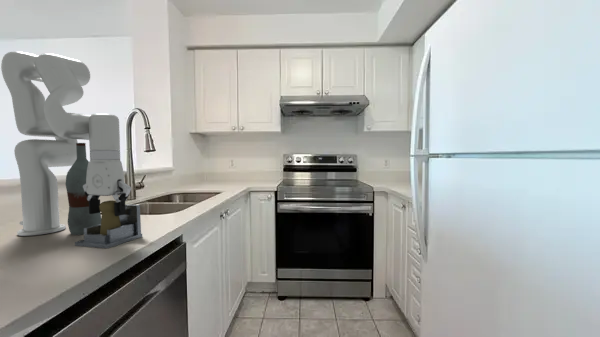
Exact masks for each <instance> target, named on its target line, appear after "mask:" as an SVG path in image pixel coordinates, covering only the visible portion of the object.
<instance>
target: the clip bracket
mask: <svg viewBox="0 0 600 337" xmlns="http://www.w3.org/2000/svg"><path fill="white" fill-rule="evenodd" d="M125 211H126V213H125V214H124V215H120V216H119V218H120V223H121V226H120V227H116V228H112V229H108V230H107V235H101V234H100V228H101V224H100V225H95V226H91V227H87V228H84V234H83V239H80V240H78V241H74V246H77V247H87V248H97V249H98V248H100V249H110V248H112V247H116V246H118V245H121V244H125V243H128V242H130V241H133V240H137V239H140V238H142V237H143V233H142V223H141V222H142V220H141V204H125Z"/></svg>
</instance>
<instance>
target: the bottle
mask: <svg viewBox="0 0 600 337" xmlns="http://www.w3.org/2000/svg"><path fill="white" fill-rule="evenodd" d="M86 145H87V143H86V142H78V143H76V152H77V159H76V161H75V162H74V164H73V165H72V166H70V168H69V169H68V170H67V172H66V176H65V190H66V194H67V195H66V196H67V200H68V214H67V226H68V231H69V233H70V235H72V236H80V235H83V236H84V228H87V227H91V226H95V225H100V224H101V218H102V212H100V213H95V214H89V201H88V200H87V196H86V195H85V191H84V189H83V185H85V184H86V175H87V167H88V162H89V161H90V160H88V159H87V149H86V148H87V146H86ZM98 199H100V197H99V198H98Z"/></svg>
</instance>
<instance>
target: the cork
mask: <svg viewBox="0 0 600 337" xmlns="http://www.w3.org/2000/svg"><path fill="white" fill-rule="evenodd" d="M114 202H116V201H115V200H105V201H102V202H100V206H99V208H100V211H101V212H100V213H101V228H100V234H101V235H107V230H108V229H112V228H116V227H120V226H121V223H120V218H119V216H115V212H114Z"/></svg>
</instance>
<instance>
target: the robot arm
mask: <svg viewBox="0 0 600 337" xmlns="http://www.w3.org/2000/svg"><path fill="white" fill-rule="evenodd" d="M0 66H1V68H0V69H1V74H2V77H3V81H4V83H5V85H6V86H7V89H8V91H9V93H10V96H11V100H12V107H13V112H14V113H13V114H14V120H15V125H16V128H17V130H18V132H19V133H20V134H22V135H24V136H29V137H44V138H54V139H38V138H35V139H34V138H33V139H31V138H30V139H24V140H21V141H20V142H18V143H17V144H16V145H15V147H14V153H13V154H14V158H15V160H16V163H17V168H18V172H19V173H18V174H19V181H20V193H21V211H22V220H21V221H20V222H19V225H20V226H22V228H21V229H19V230H17V231H16V232H17V236H20V237H28V236H29V237H31V236H39V235H46V234H47V235H48V234H51V233H52V234H53V233H56V232H60V231H63V230H65V229H66V224H62V223H61V222H60V221H61V220H60V203H59V188H58V179H57V177H56V175H55V174H54V173H53V172H52V171H51V169H50V168H56V167H57V168H58V167H72V165H73V164H74V162H75V161H76V159H77V152H76V143H79V142H78V140H84V141H85V140H86V141H89V142H88V143H89V160H88V161H89V162H88V167H87V175H86V184H85V185H83V189H84V191H85V195H86V196H87V200H88V201H89V214H95V213H102V212H101V211H100V208H99V206H100V204H101V199H100V197H101V196H102V197H110V196H112V197H113V199H114V201H116V202H114V212H115V216H120V215H124V214H125V213H126V211H125V205H126V202H127V201H128V198H129V196H130V193H131V190H132V186H130V185H129V184H127V183H126V182H125V174H124V167H123V163H122V161H121V136H120V120H119V117H118V116H117V115H115V114H111V113H92V114H84V113H75V112H67V111H66V110H65V108H64V107H63V106H68V105H71V104H74V103H77V102H78V101H80V100H81V99H82V98H83V96H84V88H83V87H84V86H86V85H88V83H89V82H90V81H91V73H90V72H91V71H90V69H89V68H88V66H87V65H86V64H85V63H84V62H83V61H80V60H78V59H74V58H70V57H67V56H63V55H59V54H55V53H41V54H39V55H36V54H34V53H29V52H23V51H9V52H6V53H5V54H3V57H2V59H1V65H0ZM32 81H36V82H40V83H43V84H44V86H45V87H46V89H47V90H48V92H49V94H48V95H47V97H45V95H44V93H43V92H42V91H41V89H40V88H39V87H38V86H36V85H35V83H33V82H32ZM98 198H99V199H98Z"/></svg>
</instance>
